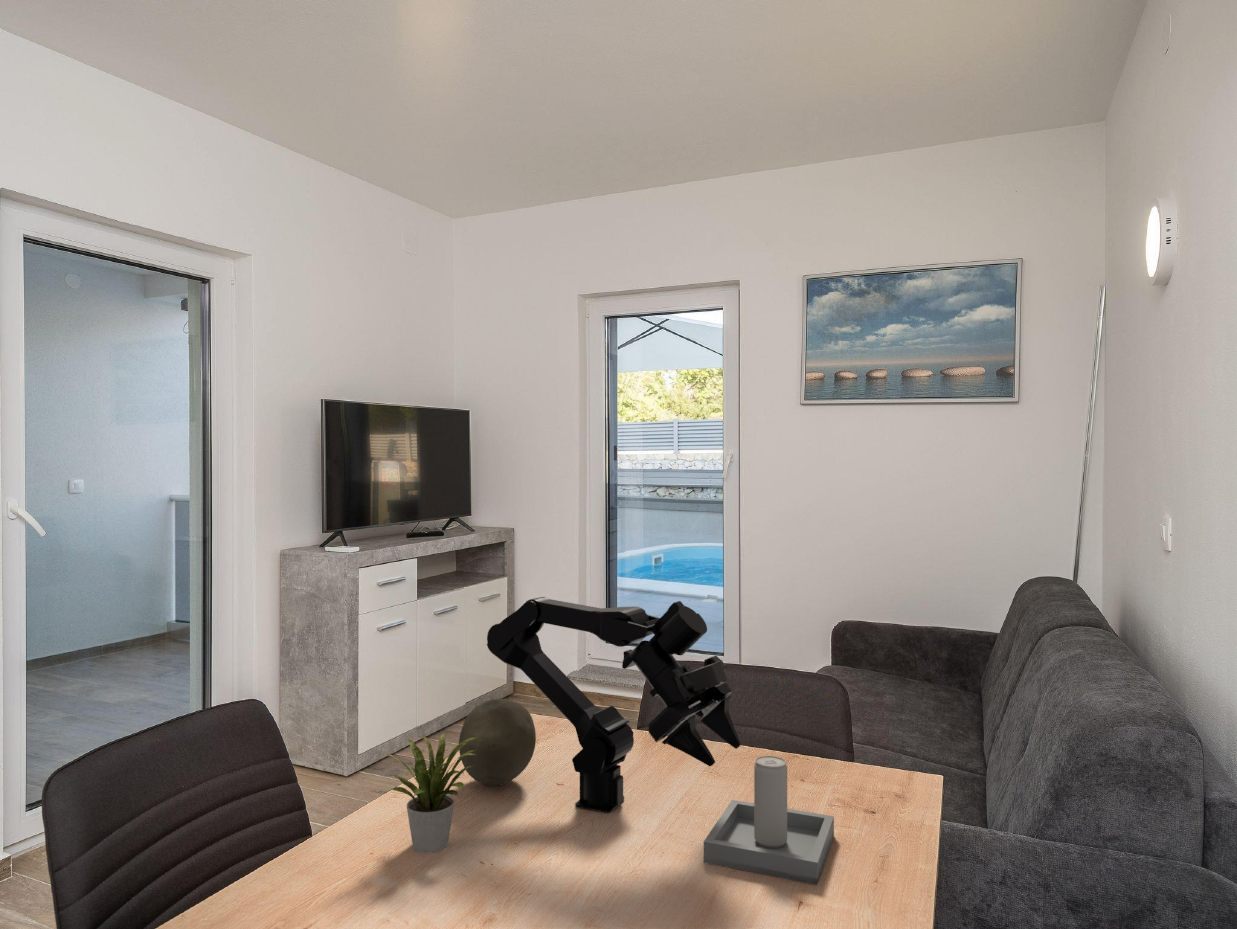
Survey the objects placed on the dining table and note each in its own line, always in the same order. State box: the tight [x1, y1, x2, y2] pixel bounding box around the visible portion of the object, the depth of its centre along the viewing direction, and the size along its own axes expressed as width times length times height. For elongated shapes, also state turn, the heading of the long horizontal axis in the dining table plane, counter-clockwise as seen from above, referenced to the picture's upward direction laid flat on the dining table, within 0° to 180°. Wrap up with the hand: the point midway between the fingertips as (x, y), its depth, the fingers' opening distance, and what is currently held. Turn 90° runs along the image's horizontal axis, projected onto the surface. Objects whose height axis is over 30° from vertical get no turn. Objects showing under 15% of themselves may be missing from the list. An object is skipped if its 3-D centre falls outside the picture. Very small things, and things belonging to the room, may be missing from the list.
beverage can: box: [753, 755, 788, 848], centre depth 119 cm, size 5×5×12 cm
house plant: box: [385, 732, 477, 854], centre depth 120 cm, size 14×14×16 cm
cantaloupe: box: [458, 698, 537, 787], centre depth 142 cm, size 14×14×15 cm
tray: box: [703, 799, 835, 886], centre depth 118 cm, size 16×16×3 cm
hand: (726, 755), depth 123 cm, fingers open, 9 cm apart
